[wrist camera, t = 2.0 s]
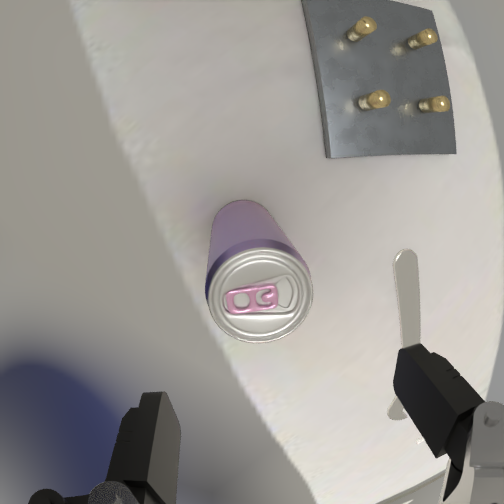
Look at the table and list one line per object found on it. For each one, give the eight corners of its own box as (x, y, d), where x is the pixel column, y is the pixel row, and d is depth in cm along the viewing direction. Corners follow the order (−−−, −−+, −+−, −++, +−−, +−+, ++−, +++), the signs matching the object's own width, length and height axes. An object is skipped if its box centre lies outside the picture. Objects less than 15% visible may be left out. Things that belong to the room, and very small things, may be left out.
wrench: (386, 423, 44) (388, 426, 43) (369, 261, 33) (372, 263, 32) (427, 402, 43) (429, 405, 43) (427, 237, 33) (431, 239, 32)
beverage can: (207, 203, 29) (194, 253, 15) (270, 195, 29) (314, 237, 15) (216, 262, 31) (214, 352, 17) (275, 254, 31) (317, 337, 17)
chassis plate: (300, -4, 23) (313, -26, 18) (425, 14, 24) (448, 2, 19) (326, 157, 29) (345, 159, 24) (448, 153, 30) (476, 156, 25)
